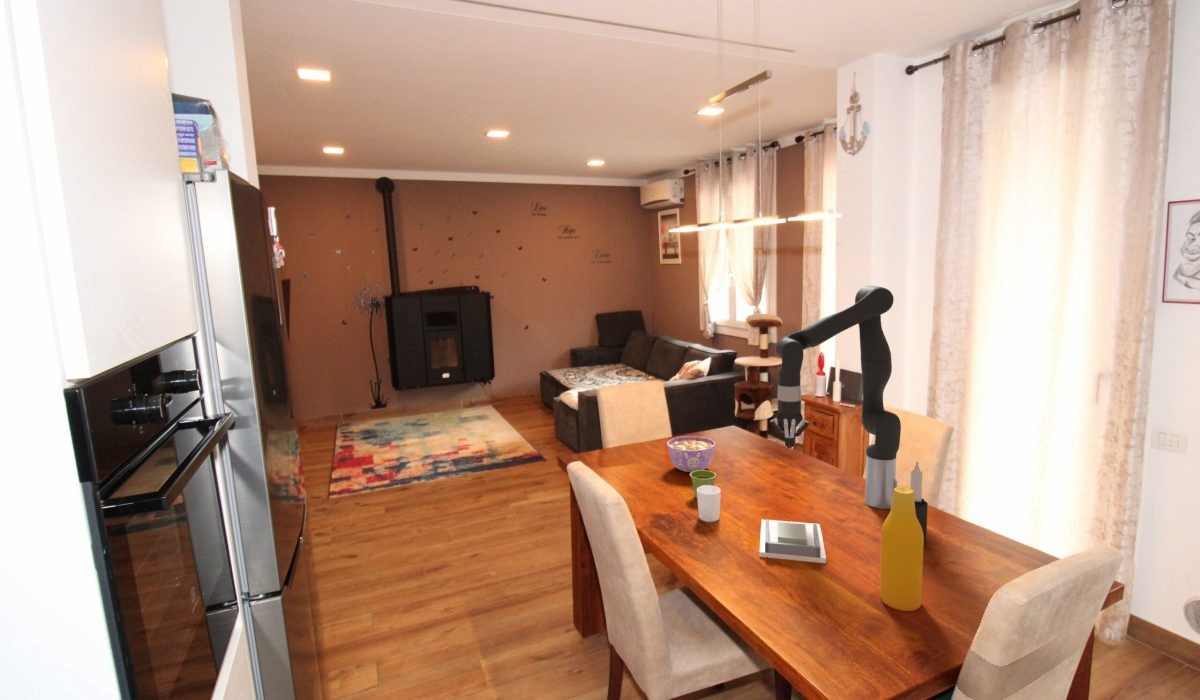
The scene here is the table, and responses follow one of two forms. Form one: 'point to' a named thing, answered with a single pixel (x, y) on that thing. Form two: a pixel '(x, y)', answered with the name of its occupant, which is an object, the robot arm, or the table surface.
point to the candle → (919, 499)
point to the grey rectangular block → (792, 533)
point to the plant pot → (702, 479)
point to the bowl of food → (691, 452)
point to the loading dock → (792, 551)
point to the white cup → (708, 502)
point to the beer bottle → (902, 554)
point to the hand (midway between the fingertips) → (789, 447)
